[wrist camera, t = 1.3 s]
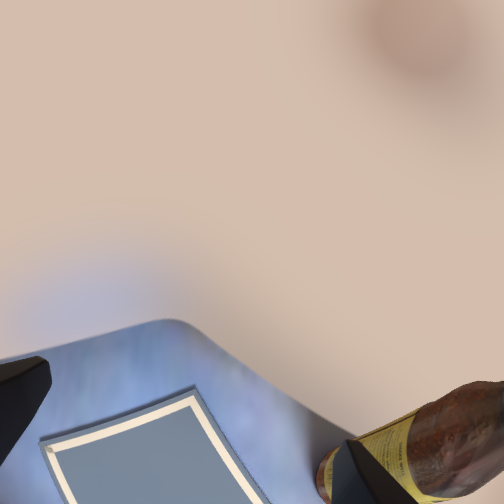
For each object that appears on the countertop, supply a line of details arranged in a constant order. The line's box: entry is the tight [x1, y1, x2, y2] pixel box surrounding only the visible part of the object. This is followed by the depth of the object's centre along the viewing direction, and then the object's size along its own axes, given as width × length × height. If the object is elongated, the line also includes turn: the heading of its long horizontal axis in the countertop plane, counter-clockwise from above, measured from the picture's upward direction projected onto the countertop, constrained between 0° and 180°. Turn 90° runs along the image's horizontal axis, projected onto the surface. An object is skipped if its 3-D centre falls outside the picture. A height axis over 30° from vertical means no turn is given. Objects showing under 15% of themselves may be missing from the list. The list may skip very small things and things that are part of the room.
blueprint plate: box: [38, 389, 270, 504], centre depth 15 cm, size 13×13×1 cm
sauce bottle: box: [316, 381, 504, 504], centre depth 12 cm, size 6×6×20 cm
